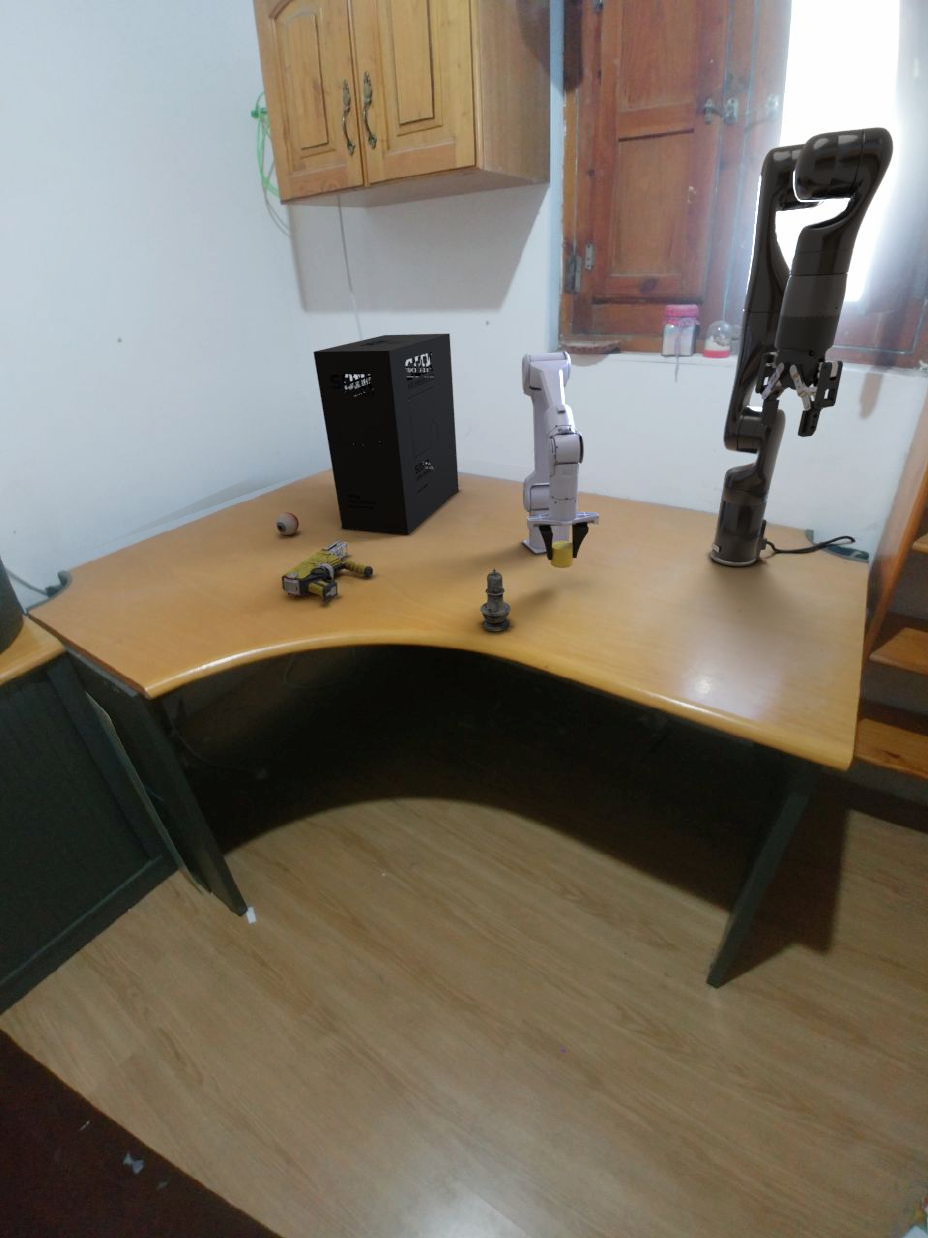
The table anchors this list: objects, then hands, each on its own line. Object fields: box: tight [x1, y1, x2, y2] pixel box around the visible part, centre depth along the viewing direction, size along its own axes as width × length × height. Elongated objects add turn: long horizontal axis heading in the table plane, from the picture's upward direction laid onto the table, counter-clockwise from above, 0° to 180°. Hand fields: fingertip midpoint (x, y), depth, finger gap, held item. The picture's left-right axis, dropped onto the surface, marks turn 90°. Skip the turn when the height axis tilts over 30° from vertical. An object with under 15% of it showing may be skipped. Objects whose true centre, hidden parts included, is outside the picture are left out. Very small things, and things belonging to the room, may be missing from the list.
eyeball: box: [275, 511, 300, 536], centre depth 163 cm, size 6×6×6 cm
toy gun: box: [281, 539, 374, 603], centre depth 138 cm, size 5×24×15 cm
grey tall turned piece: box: [479, 568, 512, 632], centre depth 114 cm, size 6×6×12 cm
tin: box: [549, 541, 574, 569], centre depth 128 cm, size 5×5×4 cm
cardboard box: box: [313, 333, 460, 535], centre depth 167 cm, size 38×20×45 cm, turn 159°
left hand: (561, 557), depth 128 cm, fingers closed on tin, 5 cm apart
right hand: (785, 429), depth 92 cm, fingers open, 8 cm apart
